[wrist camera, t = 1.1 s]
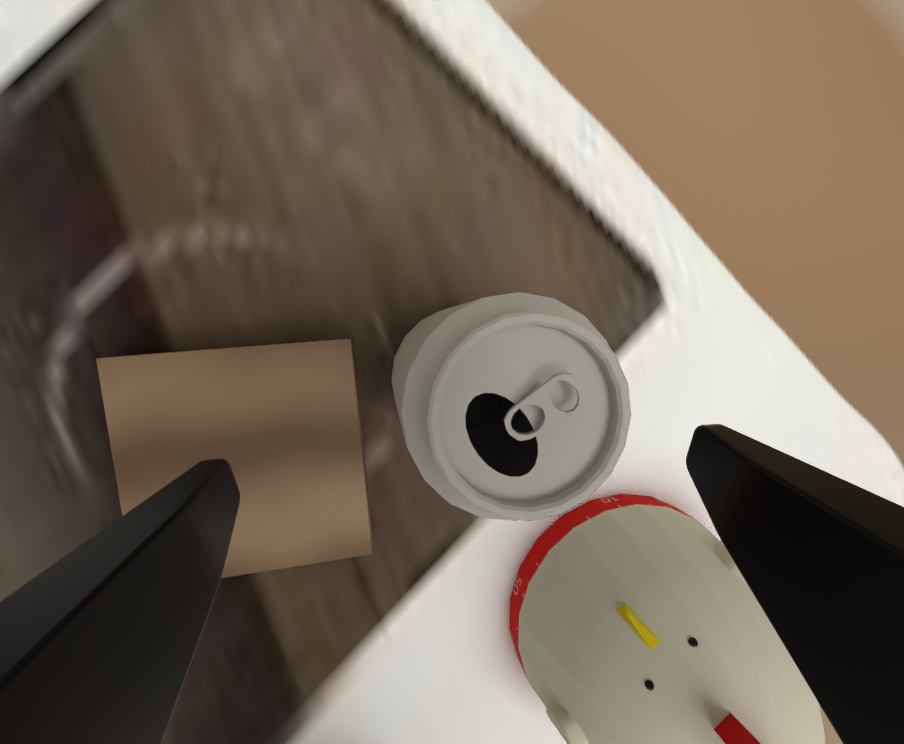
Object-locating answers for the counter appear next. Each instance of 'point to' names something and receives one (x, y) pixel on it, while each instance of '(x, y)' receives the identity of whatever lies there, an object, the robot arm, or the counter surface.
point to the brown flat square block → (250, 442)
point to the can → (511, 405)
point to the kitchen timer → (652, 634)
